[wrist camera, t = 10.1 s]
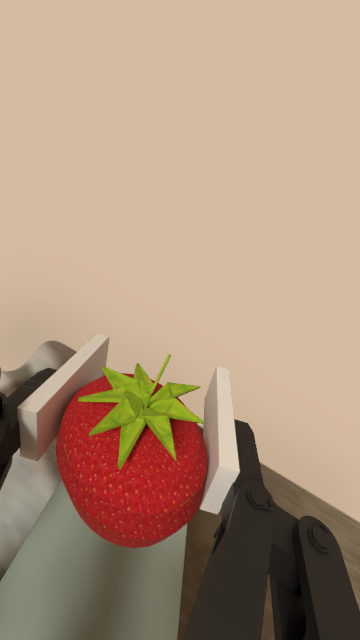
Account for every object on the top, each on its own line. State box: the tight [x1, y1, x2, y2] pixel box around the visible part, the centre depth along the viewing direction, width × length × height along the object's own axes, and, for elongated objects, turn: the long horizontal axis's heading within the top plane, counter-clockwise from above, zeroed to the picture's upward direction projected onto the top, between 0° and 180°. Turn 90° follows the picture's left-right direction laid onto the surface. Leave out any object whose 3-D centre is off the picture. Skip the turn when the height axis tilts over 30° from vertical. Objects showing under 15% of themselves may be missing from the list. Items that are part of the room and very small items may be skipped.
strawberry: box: [56, 355, 207, 548], centre depth 11 cm, size 6×8×10 cm
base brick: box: [0, 480, 187, 640], centre depth 16 cm, size 10×10×5 cm
